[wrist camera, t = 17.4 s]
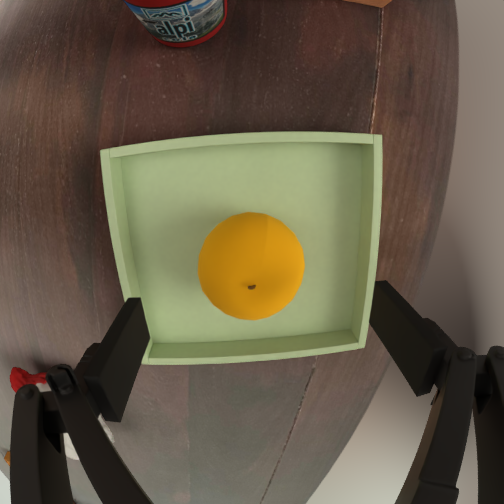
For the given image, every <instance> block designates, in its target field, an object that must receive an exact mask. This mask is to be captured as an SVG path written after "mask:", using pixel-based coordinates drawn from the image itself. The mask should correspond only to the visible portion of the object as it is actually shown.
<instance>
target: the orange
mask: <svg viewBox="0 0 504 504" xmlns="http://www.w3.org/2000/svg"><path fill="white" fill-rule="evenodd" d="M304 269H305V262H304V254H303V249H302V246H301V245H300V243H299V241H298V239H297V237H296V236H295V234H294V232H293V231H291V230H290V229H289V228H288V227H287V226H286V225H285V224H284V223H283V222H282V221H280V220H278V219H276V218H274V217H272V216H269V215H267V214H264V213H255V212H245V213H241V214H237V215H233V216H231V217H229V218H227V219H226V220H224V221H222V222H221V223H219V224H218V225H217V226H216V227H215V228H214V229H213V230H212V231H211V232H210V233H209V234H208V236H207V237H206V239H205V241H204V243H203V246H202V248H201V251H200V253H199V260H198V277H199V281H200V285H201V288H202V291H203V292H204V294H205V295H206V296H207V298H208V299H209V300H210V302H211V303H212V304H213V305H214V306H215V307H217V308H218V309H219V310H221V311H222V312H223V313H225V314H227V315H230V316H232V317H235V318H238V319H243V320H254V321H255V320H259V319H263V318H268V317H270V316H272V315H274V314H275V313H277V312H279V311H281V310H282V309H283V308H284V307H285V306H286V305H287V304H289V303H290V302H291V301H292V300H293V298H294V296H295V295H296V293H297V291H298V289H299V287H300V285H301V283H302V279H303V274H304Z"/></svg>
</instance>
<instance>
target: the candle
mask: <svg viewBox="0 0 504 504" xmlns="http://www.w3.org/2000/svg"><path fill="white" fill-rule="evenodd" d="M45 375H46V373H38V374H35V375H34V374H33V375H32V374H29V373H28V372H27V371H25V370H23V369H21V368H17V367H13V368H12V370H11V375H10V382H11V387H12V388H13V390H14V391H15V392H17V390H18V389H19V388H20V387H22V386H23V385H26V384H34V385H36V386H37V387H38V388H39V390H40V392H45V391H51V389H50V387H49V385H48V383H47V381H46V379H45ZM98 420H99V421H100V423H101V425H102V427H103V429H104V430H105V432H106V434H107V436H108V437H109V439H110V441H111V442H115V440H114V439H113V438H114V436H113V434H112V433H111V431H110V429H109V428H108V427H107V425H106V424H105V423H104V421H103V419H102V418H101V414H100V415H99V418H98ZM63 434H64V444H65V453H66V456H68V457H69V458H71V459H74V460H80V459H79V457H78V455H77V453H76V451H75V449H74V446H73V444H72V442H71V439H70V437H69V435H68V433H63ZM112 444H113V443H112Z"/></svg>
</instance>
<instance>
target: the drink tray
mask: <svg viewBox="0 0 504 504" xmlns="http://www.w3.org/2000/svg"><path fill="white" fill-rule="evenodd" d="M344 1H350V2H355V3H361V4H366V5H371V6H375V7H380V8H383V7H384V6H386V5H387V4H388V3H389V2H391V1H392V0H344Z"/></svg>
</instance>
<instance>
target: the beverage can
mask: <svg viewBox="0 0 504 504" xmlns="http://www.w3.org/2000/svg"><path fill="white" fill-rule="evenodd" d="M123 1H124V2H125V3H126V4H127V6H128V7H129V8H130V9H131V11H132V12H133V13H134V14H135V16H136V17H137V18H138V19H139V20H140V22H141V23H142V24H143V25H144V27H145V28H146V29H147V30H148V31H149V33H150V34H151V35H152V36H153V37H154V38H155V39H156V40H157V41H159V42H160V43H162V44H165V45H167V46H171V47H190V46H194V45H197V44H200V43H202V42H204V41H206V40H208V39H210V38H211V37H213V36H214V35H215V34H216V33H217V32H218V31H219V30H220V29H221V27H222V26H223V24H224V22H225V20H226V16H227V0H123Z"/></svg>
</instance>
